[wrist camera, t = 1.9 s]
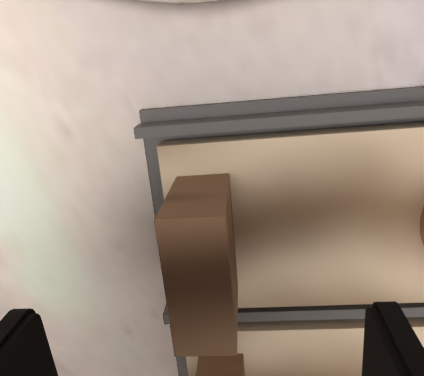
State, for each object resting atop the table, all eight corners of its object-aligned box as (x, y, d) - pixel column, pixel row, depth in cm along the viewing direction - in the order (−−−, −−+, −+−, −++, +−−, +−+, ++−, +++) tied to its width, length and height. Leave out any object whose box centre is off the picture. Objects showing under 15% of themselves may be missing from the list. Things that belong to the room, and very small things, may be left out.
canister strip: (605, 282, 20) (759, 378, 14) (182, 296, 22) (161, 385, 16) (656, 104, 17) (877, 132, 11) (161, 140, 19) (126, 180, 13)
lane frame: (565, 438, 24) (589, 467, 23) (189, 437, 27) (186, 464, 25) (672, 66, 17) (720, 67, 15) (141, 109, 19) (131, 115, 18)
